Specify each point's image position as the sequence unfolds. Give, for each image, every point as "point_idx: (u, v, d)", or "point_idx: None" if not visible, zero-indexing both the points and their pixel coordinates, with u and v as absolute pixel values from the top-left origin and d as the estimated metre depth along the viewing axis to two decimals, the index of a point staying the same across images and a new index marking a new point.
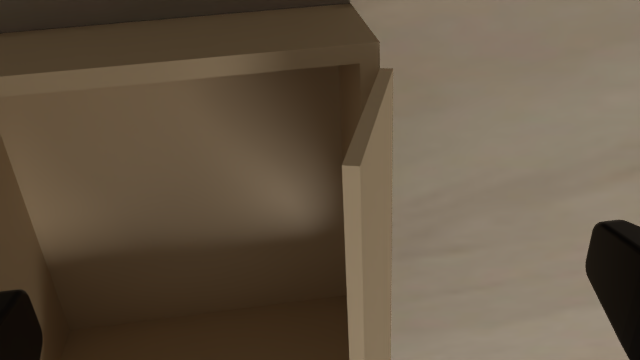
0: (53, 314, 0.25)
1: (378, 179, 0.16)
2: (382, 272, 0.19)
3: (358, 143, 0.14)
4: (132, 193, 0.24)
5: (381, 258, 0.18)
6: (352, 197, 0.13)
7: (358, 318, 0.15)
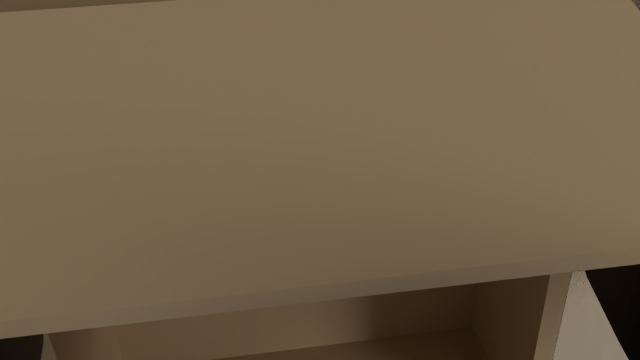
0: (432, 351, 0.21)
1: (17, 142, 0.08)
2: (280, 82, 0.09)
3: None
4: None
5: (233, 97, 0.09)
6: None
7: (185, 306, 0.07)
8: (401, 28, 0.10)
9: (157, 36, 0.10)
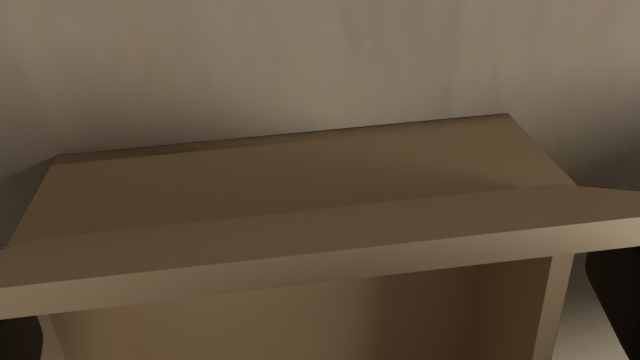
0: None
1: (73, 252, 0.10)
2: (291, 223, 0.11)
3: None
4: None
5: (252, 229, 0.11)
6: None
7: (192, 276, 0.08)
8: (391, 207, 0.13)
9: (197, 225, 0.13)
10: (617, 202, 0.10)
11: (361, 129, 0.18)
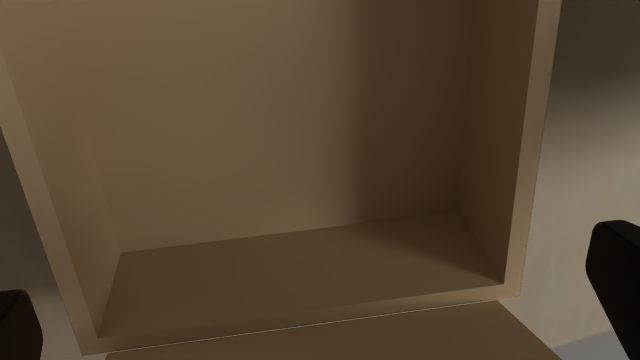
0: (419, 230, 0.22)
1: None
2: None
3: None
4: (273, 132, 0.20)
5: None
6: None
7: None
8: None
9: None
10: None
11: None
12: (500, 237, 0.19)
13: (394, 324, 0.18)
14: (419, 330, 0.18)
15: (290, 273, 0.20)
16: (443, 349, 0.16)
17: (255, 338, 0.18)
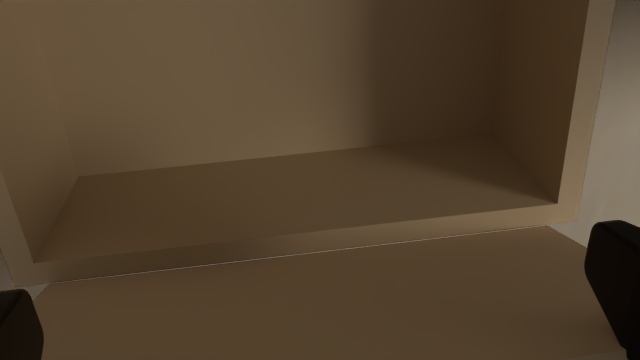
0: (445, 152, 0.18)
1: None
2: None
3: None
4: (265, 19, 0.16)
5: None
6: None
7: None
8: None
9: None
10: None
11: None
12: (552, 143, 0.15)
13: (418, 251, 0.14)
14: (451, 257, 0.14)
15: (285, 195, 0.16)
16: (487, 276, 0.12)
17: (238, 267, 0.14)
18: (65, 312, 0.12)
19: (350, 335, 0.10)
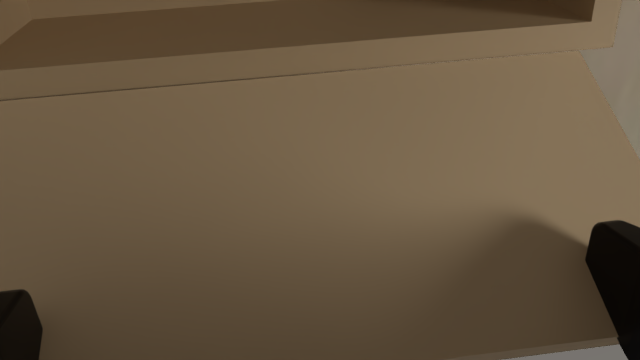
0: None
1: None
2: None
3: None
4: None
5: None
6: None
7: None
8: None
9: None
10: None
11: None
12: None
13: (425, 91, 0.12)
14: (462, 111, 0.12)
15: (270, 24, 0.14)
16: (498, 165, 0.11)
17: (213, 96, 0.12)
18: (19, 174, 0.11)
19: (347, 271, 0.10)
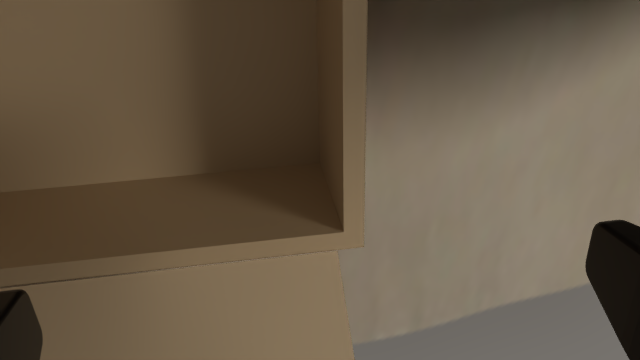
0: (270, 180, 0.20)
1: None
2: None
3: None
4: (97, 61, 0.18)
5: None
6: None
7: None
8: None
9: None
10: None
11: None
12: (339, 179, 0.17)
13: (215, 291, 0.17)
14: (238, 311, 0.16)
15: (111, 220, 0.18)
16: None
17: (54, 296, 0.16)
18: None
19: None
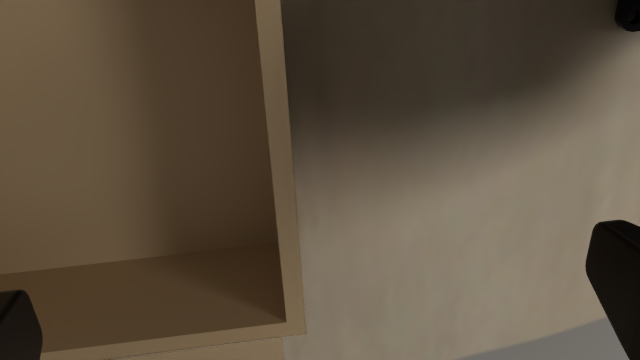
0: (230, 263, 0.22)
1: None
2: None
3: None
4: (69, 165, 0.20)
5: None
6: None
7: None
8: None
9: None
10: None
11: None
12: None
13: None
14: None
15: (84, 307, 0.20)
16: None
17: None
18: None
19: None
